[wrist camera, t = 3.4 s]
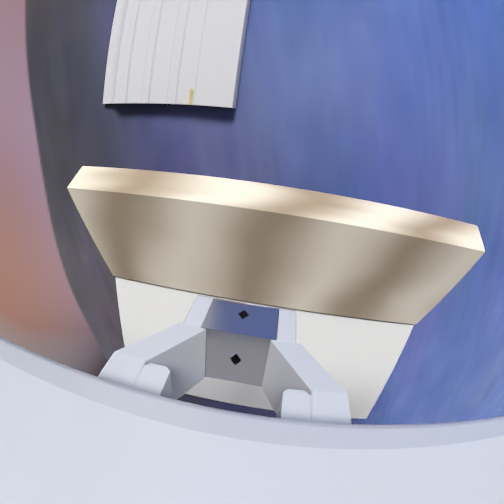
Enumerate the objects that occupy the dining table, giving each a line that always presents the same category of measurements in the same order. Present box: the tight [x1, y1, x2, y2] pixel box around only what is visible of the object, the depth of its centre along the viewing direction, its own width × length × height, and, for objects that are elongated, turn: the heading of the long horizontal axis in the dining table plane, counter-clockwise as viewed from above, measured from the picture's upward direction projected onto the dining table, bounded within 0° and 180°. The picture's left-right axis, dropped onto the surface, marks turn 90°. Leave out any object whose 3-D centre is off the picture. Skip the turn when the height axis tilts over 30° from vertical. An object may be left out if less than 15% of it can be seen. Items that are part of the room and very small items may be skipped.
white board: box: [116, 276, 414, 419], centre depth 22 cm, size 20×10×2 cm, turn 84°
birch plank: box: [67, 166, 485, 324], centre depth 17 cm, size 20×8×2 cm, turn 84°
